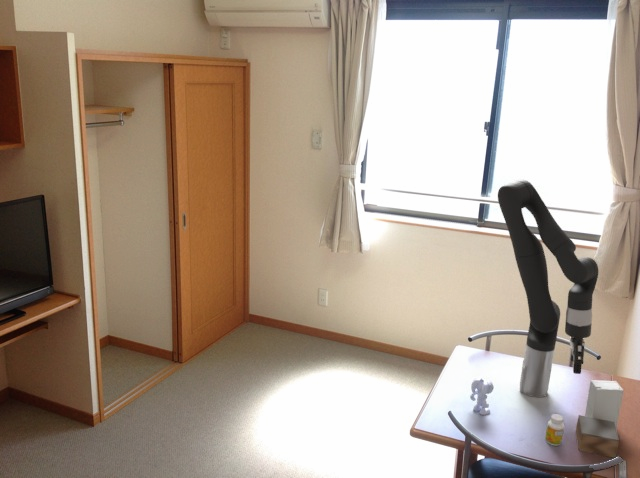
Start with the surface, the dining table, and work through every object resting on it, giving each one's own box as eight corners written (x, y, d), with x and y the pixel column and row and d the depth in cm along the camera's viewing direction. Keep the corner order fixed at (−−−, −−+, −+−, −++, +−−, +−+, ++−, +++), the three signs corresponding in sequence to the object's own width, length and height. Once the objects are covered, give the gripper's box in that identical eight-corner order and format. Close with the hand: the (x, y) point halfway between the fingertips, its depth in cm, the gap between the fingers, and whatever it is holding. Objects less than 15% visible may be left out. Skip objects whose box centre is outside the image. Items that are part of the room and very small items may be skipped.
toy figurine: (495, 413, 194) (499, 380, 190) (482, 419, 190) (487, 386, 187) (478, 403, 199) (482, 371, 196) (465, 409, 195) (469, 376, 192)
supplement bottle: (542, 437, 182) (546, 412, 180) (557, 436, 182) (561, 412, 180) (549, 446, 177) (553, 421, 175) (564, 446, 178) (568, 421, 175)
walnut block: (578, 450, 176) (581, 432, 174) (575, 431, 185) (578, 415, 184) (615, 458, 173) (619, 440, 171) (610, 438, 182) (614, 421, 181)
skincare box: (609, 421, 192) (617, 380, 188) (616, 432, 186) (625, 390, 182) (582, 419, 192) (590, 378, 188) (589, 430, 186) (597, 388, 182)
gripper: (563, 311, 195) (561, 356, 199) (567, 328, 182) (564, 376, 186) (588, 312, 192) (585, 358, 196) (594, 329, 179) (591, 378, 183)
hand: (575, 367), depth 191 cm, fingers open, 8 cm apart
